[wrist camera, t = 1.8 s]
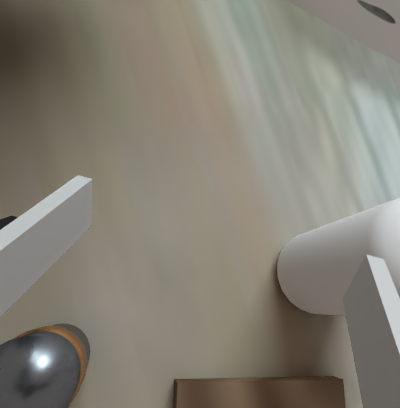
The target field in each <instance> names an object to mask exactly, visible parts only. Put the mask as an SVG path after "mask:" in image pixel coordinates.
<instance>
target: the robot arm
mask: <svg viewBox="0 0 400 408" xmlns="http://www.w3.org/2000/svg"><path fill="white" fill-rule="evenodd" d="M91 226H92V179H90V178H86V177H83V176H79V175H78V176H76V177H75V178H73V179H72V180H70V181H69V182H68V183H66V184H65V185H63V186H62V187H61V188H59V189H58V190H56V191H55V192H53V193H52V194H51V195H49V196H48V197H46V198H45V199H44V200H42V201H41V202H39V203H38V204H36V205H35V206H34V207H32V208H31V209H29V210H28V211H27V212H25V213H24V214H22V215H21V216H19V217H14V216H9V217H7V218H4V219H1V220H0V318H1V317H2V316H3V315H4V314H5V313H6V312H7V311H8V310H9V308H10V307H11V306H12V305H13V304H14V303H15V302H16V301H17V300H18V299H19V298H20V297H21V296H22V295H23V294H24V293H25V292H26V291H27V290H28V289H29V288H30V287H31V286H32V285H33V284H34V283H35V282H36V281H37V280H38V279H39V278H40V277H41V276H42V275H43V274H44V273H45V272H46V271H47V270H48V269H49V268H50V267H51V266H52V265H53V264H54V263H55V262H56V261H57V260H58V259H59V258H60V257H61V256H62V255H63V254H64V253H65V252H66V251H67V250H68V249H69V248H70V247H71V246H72V245H73V244H74V243H75V242H76V241H77V240H78V239H79V238H80V237H81V236H82V235H83V234H84V233H85V232H86V231H87V230H88V229H89V228H90V227H91ZM343 304H344V309H345V315H346V320H347V325H348V330H349V335H350V341H351V346H352V351H353V356H354V361H355V367H356V372H357V377H358V382H359V387H360V393H361V398H362V403H363V408H400V298H399V295H398V293H397V290H396V288H395V285H394V283H393V280H392V278H391V275H390V273H389V270H388V268H387V265H386V263H385V260H384V259H381V258H378V257H374V256H370V255H367V254H366V256H365V258H364V260H363V261H362V263H361V265H360V267H359V269H358V271H357V273H356V275H355V276H354V278H353V280H352V282H351V284H350V286H349V288H348V289H347V291H346V293H345V295H344V297H343Z"/></svg>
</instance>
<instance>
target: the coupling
mask: <svg viewBox="0 0 400 408" xmlns="http://www.w3.org/2000/svg"><path fill="white" fill-rule="evenodd" d="M89 357H90V346H89V342H88V339H87V337H86V336H85V334H84V333H83V332H82V331H81V330H80V329H79V328H77V327H75V326H73V325H70V324H56V325H52V326H45V327H40V328H37V329H34V330H31V331H28V332H25V333H23V334H21V335H19V336H17V337H15V338H14V339H12V340H10V341H7V342H5V343H3V344H2V345H0V408H68V407H69V404H70V403H71V402H72V401H73V399H74V398H75V396H76V394H77V392H78V390H79V388H80V386H81V383H82V381H83V378H84V376H85V372H86V368H87V364H88V361H89Z"/></svg>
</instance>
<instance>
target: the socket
mask: <svg viewBox="0 0 400 408" xmlns="http://www.w3.org/2000/svg"><path fill="white" fill-rule="evenodd" d="M173 408H345V397H344V385H343V379H340V378H337V377H334V376H325V377H269V378H214V379H175V385H174V407H173Z"/></svg>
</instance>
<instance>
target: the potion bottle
mask: <svg viewBox="0 0 400 408" xmlns="http://www.w3.org/2000/svg"><path fill="white" fill-rule="evenodd" d="M366 254H367V255H370V256H374V257H378V258H381V259H384V260H385V263H386V265H387V268H388V270H389V273H390V275H391V278H392V280H393V283H394V285H395V288H396V290H397V293H398V295H399V298H400V198H399V199H396V200H392V201H389V202H386V203H383V204H381V205H378V206H375V207H373V208H370V209H367V210H365V211H362V212H359V213H357V214H354V215H351V216H349V217H346V218H343V219H341V220H338V221H335V222H332V223H330V224H327V225H324V226H322V227H319V228H316V229H314V230H311V231H308V232H306V233H303V234H300V235H298V236H295V237H294V238H292V239H291V240H290V241H289V242H287V243H286V244H285V246H284V247H283V249H282V251H281V252H280V254H279V259H278V263H277V275H278V280H279V283H280V286H281V289H282V291H283V293H284V294H285V295H286V297H287V298H288V300H289V301H290V302H291V303H292V304H294V305H295V306H296V307H297V308H299V309H300V310H303V311H306V312H308V313H311V314H323V315H342V316H346V315H345V309H344V304H343V297H344V295H345V293H346V291H347V289H348V288H349V286H350V284H351V282H352V280H353V278H354V276H355V275H356V273H357V271H358V269H359V267H360V265H361V263H362V261H363V260H364V258H365V256H366Z"/></svg>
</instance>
